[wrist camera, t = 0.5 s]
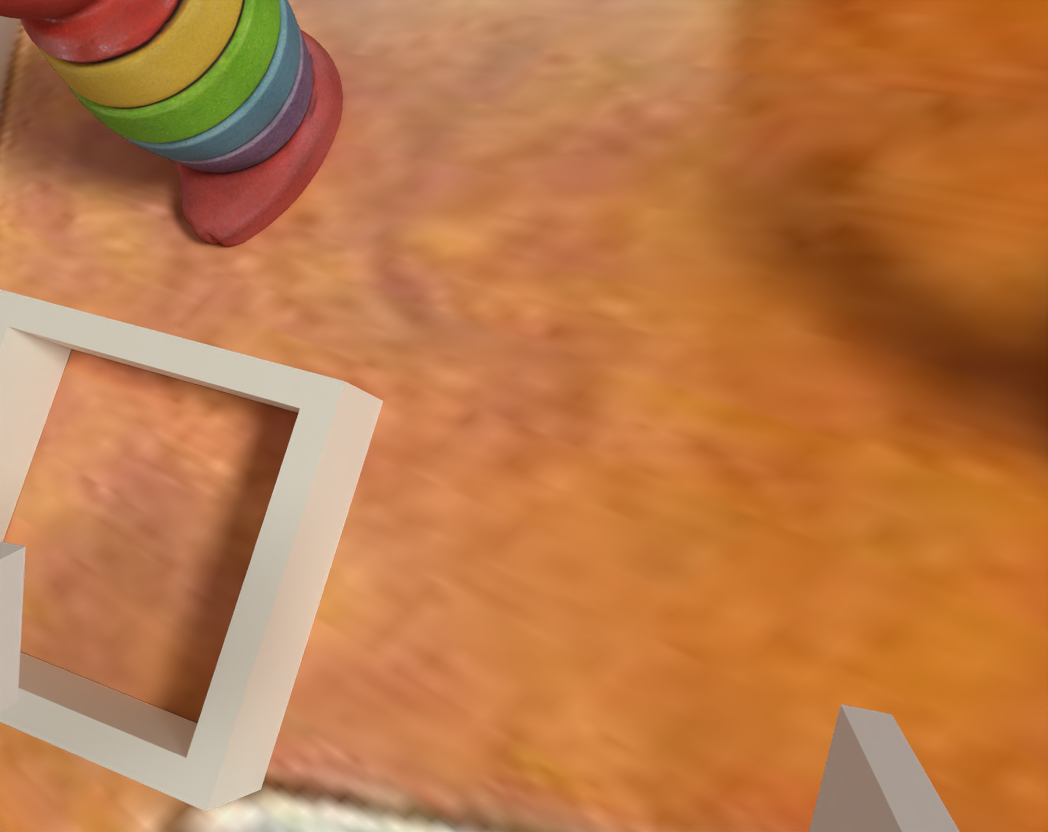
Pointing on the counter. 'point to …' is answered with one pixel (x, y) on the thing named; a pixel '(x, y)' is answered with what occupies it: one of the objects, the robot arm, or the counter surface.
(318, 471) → the collar
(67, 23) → the stacking bear
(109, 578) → the counter surface
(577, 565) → the counter surface
